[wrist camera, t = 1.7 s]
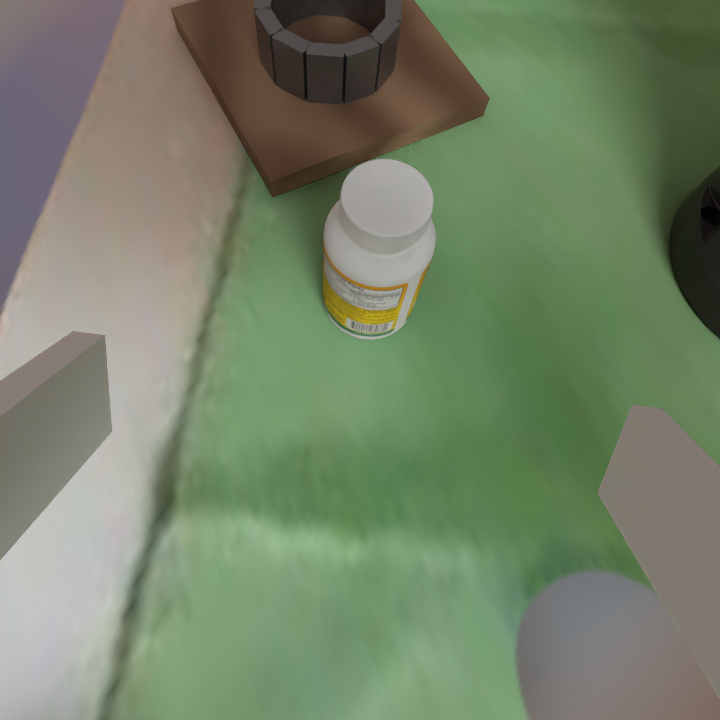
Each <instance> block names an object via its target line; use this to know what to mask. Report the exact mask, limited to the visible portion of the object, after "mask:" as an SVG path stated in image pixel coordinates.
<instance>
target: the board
mask: <svg viewBox="0 0 720 720" xmlns="http://www.w3.org/2000/svg"><path fill="white" fill-rule="evenodd" d="M254 1H255V0H199V1H196V2H193V3H189V4H186V5H182V6H179V7H175V8H172V12H173V16H174V19H175V23H176V27H177V30H178V31H179V33H180V35H181V37H182V38H183V40H184V42H185V44H186V46H187V47H188V49H189V51H190V53H191V54H192V56H193V58H194V60H195V61H196V63H197V65H198V67H199V68H200V70H201V72H202V74H203V76H204V77H205V79H206V81H207V83H208V84H209V86H210V88H211V90H212V91H213V93H214V95H215V97H216V98H217V100H218V102H219V104H220V106H221V107H222V109H223V111H224V113H225V114H226V116H227V118H228V120H229V121H230V123H231V125H232V127H233V128H234V130H235V132H236V134H237V136H238V137H239V139H240V141H241V143H242V144H243V146H244V148H245V150H246V151H247V153H248V155H249V157H250V158H251V160H252V162H253V164H254V166H255V167H256V169H257V171H258V173H259V174H260V176H261V178H262V180H263V181H264V183H265V185H266V187H267V188H268V190H269V192H270V194H271V195H272V197H275V196H277V195H280V194H282V193H285V192H288V191H290V190H293V189H295V188H298V187H300V186H303V185H306V184H308V183H311V182H313V181H316V180H319V179H321V178H324V177H326V176H329V175H331V174H334V173H337V172H339V171H342V170H344V169H347V168H349V167H352V166H355V165H357V164H360V163H362V162H365V161H367V160H370V159H373V158H375V157H378V156H380V155H383V154H385V153H388V152H391V151H393V150H396V149H398V148H401V147H403V146H406V145H409V144H411V143H414V142H416V141H419V140H422V139H424V138H427V137H429V136H432V135H434V134H437V133H440V132H442V131H445V130H447V129H450V128H452V127H455V126H458V125H460V124H463V123H465V122H468V121H470V120H473V119H476V118H478V117H481V116H483V115H484V112H485V109H486V106H487V104H488V101H489V97H488V96H487V94H486V93H485V92H484V90H483V89H482V88H481V86H480V85H479V84H478V83H477V81H476V80H475V79H474V77H473V76H472V75H471V74H470V72H469V71H468V70H467V68H466V67H465V66H464V64H463V63H462V62H461V61H460V59H459V58H458V57H457V55H456V54H455V53H454V52H453V50H452V49H451V48H450V46H449V45H448V44H447V42H446V41H445V40H444V39H443V37H442V36H441V35H440V33H439V32H438V31H437V30H436V28H435V27H434V26H433V24H432V23H431V22H430V20H429V19H428V18H427V17H426V15H425V14H424V13H423V11H422V10H421V9H420V8H419V6H418V5H417V4H416V2H415V1H414V0H401V27H400V34H399V41H398V48H397V54H396V61H395V68H394V72H393V73H392V74H391V76H390V77H389V78H388V79H387V80H386V82H385V83H384V84H383V85H382V86H381V88H380V89H379V90H378V91H377V92H374V94H373V95H370V96H367V97H364V98H361V99H359V100H356V101H353V102H350V103H347V104H344V103H343V101H342V105H337V104H324V103H311V102H308V98H307V99H306V101H303V100H301V99H299V98H297V97H296V96H294V95H292V94H290V93H288V92H286V91H284V90H283V89H281V88H279V87H277V85H276V84H274V83H273V81H272V79H271V78H270V76H269V75H268V73H267V71H266V70H265V68H264V66H263V65H262V63H261V62H260V56H259V48H258V40H257V32H256V24H255V16H254ZM287 30H288V31H290V32H292V33H294V34H296V35H298V36H299V37H301V38H303V39H305V40H307V41H309V42H316V43H328V44H341V45H342V44H345V43H348V42H351V41H354V40H357V39H360V38H363V37H366V36H369V35H370V32H369V31H368V29H366V28H364V27H362V26H360V25H358V24H356V23H355V22H353V21H351V20H349V19H347V18H345V17H334V16H323V15H316V16H313V17H310V18H307V19H303V20H300V21H297V22H294V23H292V24H291V25H290V26H289V28H288V29H287Z"/></svg>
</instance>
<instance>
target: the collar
mask: <svg viewBox="0 0 720 720" xmlns="http://www.w3.org/2000/svg"><path fill="white" fill-rule="evenodd" d="M316 15H323V16H334V17H345V18H347V19H349V20H351V21H353V22H355V23H356V24H358V25H360V26H362V27H364V28H366V29H368V31H369V32H370V35H369V36H366V37H363V38H360V39H357V40H354V41H351V42H348V43H345V44H342V45H341V44H328V43H316V42H309V41H307V40H305V39H303V38H301V37H299V36H298V35H296V34H294V33H292V32H290V31H288V30H287V29H288V28H289V26H290V25H291V24H292V23H294V22H297V21H300V20H303V19H307V18H310V17H313V16H316ZM254 16H255V24H256V32H257V40H258V48H259V56H260V62H261V63H262V65H263V66H264V68H265V70H266V71H267V73H268V75H269V76H270V78H271V79H272V81H273V83H274V84H276V85H277V87H279V88H281V89H283V90H284V91H286V92H288V93H290V94H292V95H294V96H296V97H297V98H299V99H301V100H303V101H306V99H307V98H308V102H311V103H324V104H337V105H342V101H343V103H344V104H347V103H350V102H353V101H356V100H359V99H361V98H364V97H367V96H370V95H373V94H374V92H377V91H378V90H379V89H380V88H381V86H382V85H383V84H384V83H385V82H386V80H387V79H388V78H389V77H390V76H391V74H392V73H393V72H394V68H395V61H396V54H397V48H398V41H399V34H400V27H401V0H255V1H254Z"/></svg>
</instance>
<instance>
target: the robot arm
mask: <svg viewBox="0 0 720 720" xmlns="http://www.w3.org/2000/svg"><path fill="white" fill-rule="evenodd" d="M670 247H671V257H672V262H673V266H674V270H675V273H676V276H677V279H678V281H679V284H680V286H681V288H682V290H683V292H684V294H685V296H686V298H687V299H688V301H689V303H690V304H691V306H692V307H693V309H694V310H695V311H696V313H697V314H698V315H699V317H700V318H701V319H702V320H703V321H704V323H705V324H706V325H707V326H708V327H709V328H710V329H711V330H712V331H713V332H714V333H715V334H716V335H717V336H718V337H719V338H720V167H719V168H717V169H716V170H715V171H713V172H712V173H711V174H710V175H709V176H708V177H707V178H706V179H705V180H704V181H703V182H702V183H701V184H700V185H699V186H698V187H697V188H696V189H695V190H694V191H693V192H692V193H691V194H690V195H689V196H688V197H687V198H686V199H685V200H684V201H683V203H682V204H681V206H680V208H679V209H678V211H677V213H676V216H675V218H674V222H673V225H672V230H671V239H670ZM111 432H112V425H111V411H110V398H109V385H108V371H107V358H106V345H105V335H98V334H90V333H83V332H75V331H73V332H71V333H70V334H68V335H67V336H66V337H64V338H63V339H61V340H60V341H58V342H57V343H55V344H54V345H52V346H51V347H49V348H48V349H46V350H45V351H43V352H42V353H41V354H39V355H38V356H36V357H35V358H33V359H32V360H30V361H29V362H27V363H26V364H24V365H23V366H21V367H20V368H19V369H17V370H16V371H14V372H13V373H11V374H10V375H8V376H7V377H5V378H4V379H2V380H1V381H0V560H1V559H2V558H3V557H4V555H5V554H6V553H7V552H8V551H9V550H10V548H11V547H12V546H13V545H14V544H15V543H16V542H17V540H18V539H19V538H20V537H21V536H22V535H23V533H24V532H25V531H26V530H27V529H28V528H29V527H30V525H31V524H32V523H33V522H34V521H35V520H36V518H37V517H38V516H39V515H40V514H41V513H42V512H43V510H44V509H45V508H46V507H47V506H48V505H49V503H50V502H51V501H52V500H53V499H54V498H55V497H56V495H57V494H58V493H59V492H60V491H61V490H62V488H63V487H64V486H65V485H66V484H67V483H68V482H69V480H70V479H71V478H72V477H73V476H74V475H75V473H76V472H77V471H78V470H79V469H80V468H81V467H82V465H83V464H84V463H85V462H86V461H87V460H88V458H89V457H90V456H91V455H92V454H93V453H94V452H95V450H96V449H97V448H98V447H99V446H100V445H101V443H102V442H103V441H104V440H105V439H106V438H107V437H108V435H109V434H110V433H111ZM598 495H599V497H600V498H601V500H602V502H603V503H604V505H605V507H606V508H607V510H608V512H609V514H610V515H611V517H612V519H613V520H614V522H615V524H616V525H617V527H618V529H619V530H620V532H621V534H622V535H623V537H624V539H625V541H626V542H627V544H628V546H629V547H630V549H631V551H632V552H633V554H634V556H635V557H636V559H637V561H638V563H639V564H640V566H641V568H642V569H643V571H644V573H645V574H646V576H647V578H648V579H649V581H650V583H651V584H652V586H653V588H654V590H655V591H656V593H657V595H658V596H659V598H660V600H661V601H662V603H663V605H664V606H665V608H666V610H667V611H668V613H669V615H670V617H671V618H672V620H673V621H674V623H675V625H676V627H677V628H678V630H679V632H680V633H681V635H682V637H683V639H684V640H685V642H686V643H687V645H688V647H689V649H690V650H691V652H692V654H693V655H694V657H695V659H696V661H697V662H698V664H699V666H700V667H701V669H702V671H703V672H704V674H705V676H706V677H707V679H708V681H709V682H710V684H711V686H712V687H713V689H714V691H715V693H716V694H717V696H718V698H719V699H720V467H719V466H718V465H717V464H716V463H715V462H714V461H713V460H712V458H711V457H710V456H709V455H708V454H707V453H706V452H705V451H704V450H703V449H702V448H701V447H700V446H699V445H698V444H697V443H696V442H695V441H694V440H693V439H692V438H691V437H690V436H689V435H688V434H687V433H686V432H685V431H684V430H683V429H682V428H681V427H680V426H679V425H678V424H677V423H676V422H675V421H674V420H673V419H672V418H671V417H670V416H669V415H668V414H667V413H666V412H665V411H664V410H663V409H661V408H653V407H646V406H638V405H632V406H631V408H630V411H629V414H628V416H627V419H626V421H625V424H624V426H623V429H622V431H621V434H620V437H619V439H618V442H617V444H616V447H615V449H614V452H613V454H612V457H611V460H610V462H609V465H608V467H607V470H606V472H605V475H604V478H603V480H602V483H601V485H600V488H599V490H598Z"/></svg>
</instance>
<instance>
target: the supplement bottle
mask: <svg viewBox="0 0 720 720" xmlns="http://www.w3.org/2000/svg"><path fill="white" fill-rule="evenodd" d="M433 203H434V200H433V193H432V189H431V187H430V185H429V183H428V181H427V180H426V178H425V177H424V176H423V175H422V174H421V173H420V172H419V171H417V170H416V169H415V168H413V167H412V166H410V165H408V164H406V163H403V162H400V161H398V160H392V159H375V160H370V161H367V162H364V163H362V164H360V165H359V166H357V167H356V168H354V169H353V170H352V171H351V172H350V173H349V174H348V175H347V177H346V178H345V180H344V182H343V184H342V188H341V193H340V200H339V201H338V202H337V203H336V204H335V205H334V206H333V208H332V209H331V211H330V213H329V215H328V217H327V220H326V223H325V227H324V245H323V301H324V307H325V310H326V312H327V315H328V316H329V318H330V320H331V321H332V322H333V323H334V324H335V325H336V326H337V327H338V328H339V329H340V330H341V331H343V332H345V333H346V334H348V335H351V336H353V337H356V338H360V339H367V340H369V339H380V338H384V337H387V336H389V335H391V334H393V333H395V332H396V331H398V330H399V329H400V328H401V327H402V326H403V325H404V324H405V323H406V321H407V320H408V318H409V316H410V314H411V312H412V310H413V307H414V304H415V302H416V299H417V296H418V293H419V291H420V288H421V285H422V283H423V280H424V277H425V275H426V272H427V270H428V267H429V264H430V262H431V259H432V256H433V253H434V249H435V243H436V234H435V227H434V224H433V221H432V219H431V214H432V211H433Z"/></svg>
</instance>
